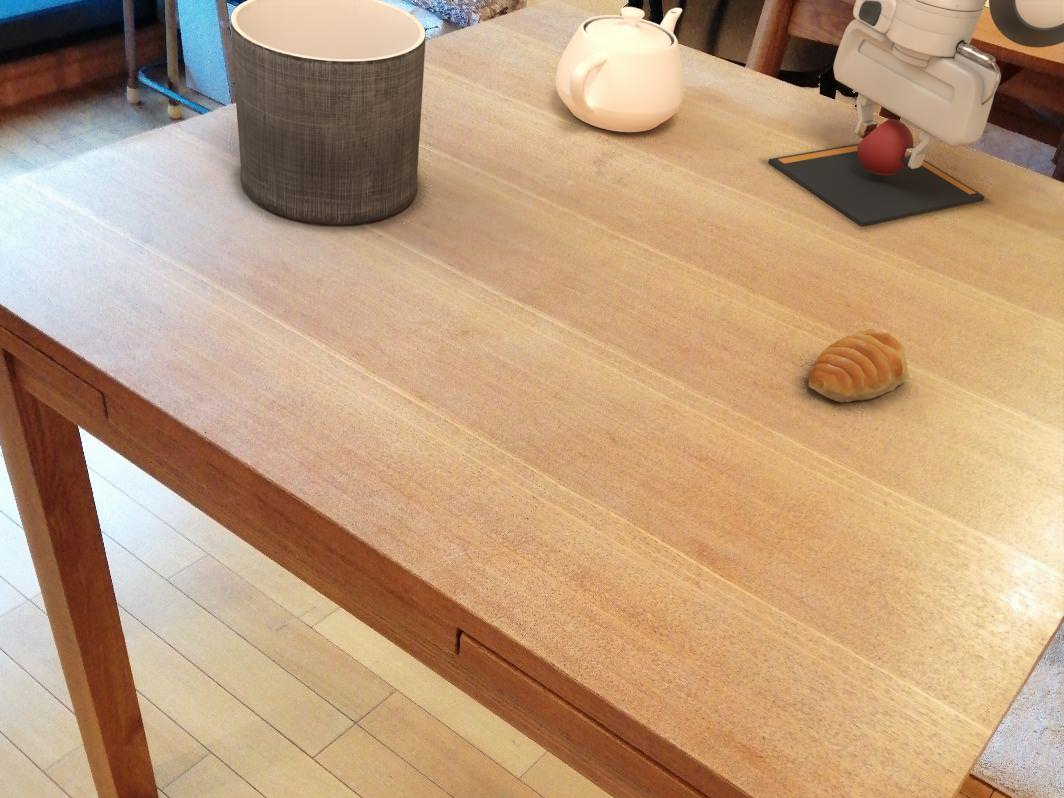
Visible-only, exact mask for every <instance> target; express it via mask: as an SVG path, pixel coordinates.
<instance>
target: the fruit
mask: <svg viewBox="0 0 1064 798" xmlns="http://www.w3.org/2000/svg"><path fill="white" fill-rule="evenodd" d="M914 143H915V142H914V137H913V133H912V132H911V129H910V128H909V127H908V126H907V124H905V123H904V122H902V121H901V120H898V119H895V118H888V119H886V120H885V121H883V122H882V123H880V124H879V125H877V128H875V129H874V130H873V131H872V132H871V133H869V134H868V135H867V136H866V137H865V138H864V139H863V138H862V139H861V141H860V142H859V143H857V144H858V148H857V152H858V158H859V160H860V163H861V164H862V166H863V167H864V168H865V169H866V170H868V171H870V172H873V173H876V174H880V175H892V174H895V173H896V172H897V171H899V170H900V169H901V168H903V167H904V166H905V164H903V163H902V159H903V158H904V157H905V156H904V154H905V151H906V149H908V148H914V147H915V145H914Z"/></svg>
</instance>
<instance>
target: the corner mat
mask: <svg viewBox="0 0 1064 798" xmlns="http://www.w3.org/2000/svg"><path fill="white" fill-rule="evenodd" d="M858 144H859V143H856V144H850V145H843V146H838V147H831V148H826V149H820V150H814V151H808V152H801V153H796V154H791V155H785V156H779V157H771V158H768V164H769V165H771V166H772V167H774V168H775V169H777V170H778V171H779V172H781V173H782V174H784V175H785V176H787V177H789V178H790V179H791V180H793V181H794V182H795V183H797V184H798V185H800V186H801V187H803V188H804V189H806V190H807V191H809V192H810V193H812V194H813V195H815V196H816V197H817V198H819V199H821V200H822V201H824V202H825V203H826V204H828V205H829V206H831V207H832V208H833V209H835V210H836V211H838V212H839V213H841V214H843V215H844V216H845V217H847V218H848V219H850V220H851V221H853V222H855V223H856V224H857V225H859V226H860V227H866V226H870V225H875V224H880V223H884V222H889V221H893V220H894V221H895V220H898V219H902V218H907V217H913V216H917V215H921V214H926V213H931V212H935V211H941V210H944V209H949V208H954V207H958V206H964V205H968V204H972V203H977V202H981V201H984V199H985V198H986V196H985V195H983V194H982V193H980V192H979V191H976V190H975V189H974V188H972V187H970V186H968V185H967V184H965V183H963V182H962V181H960V180H958V179H956V178H955V177H953V176H952V175H950V174H949V173H947V172H945V171H944V170H942V169H940V168H939V167H937V166H935V165H934V164H932V163H931V162H929V161H927V160H926V159H924V160H923V162H922V165H921V166H920V167H919V168H914V169H911V168H910V167H908V166H906V165H905V166H904V167H903V168H901V169H900V170H899V171H897V172H896V173H895V174H892V175H880V174H876V173H873V172H870V171H868V170H866V169H865V168H864V167H863V166H862V164H861V163H860V160H859V158H858V152H857V148H858Z"/></svg>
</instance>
